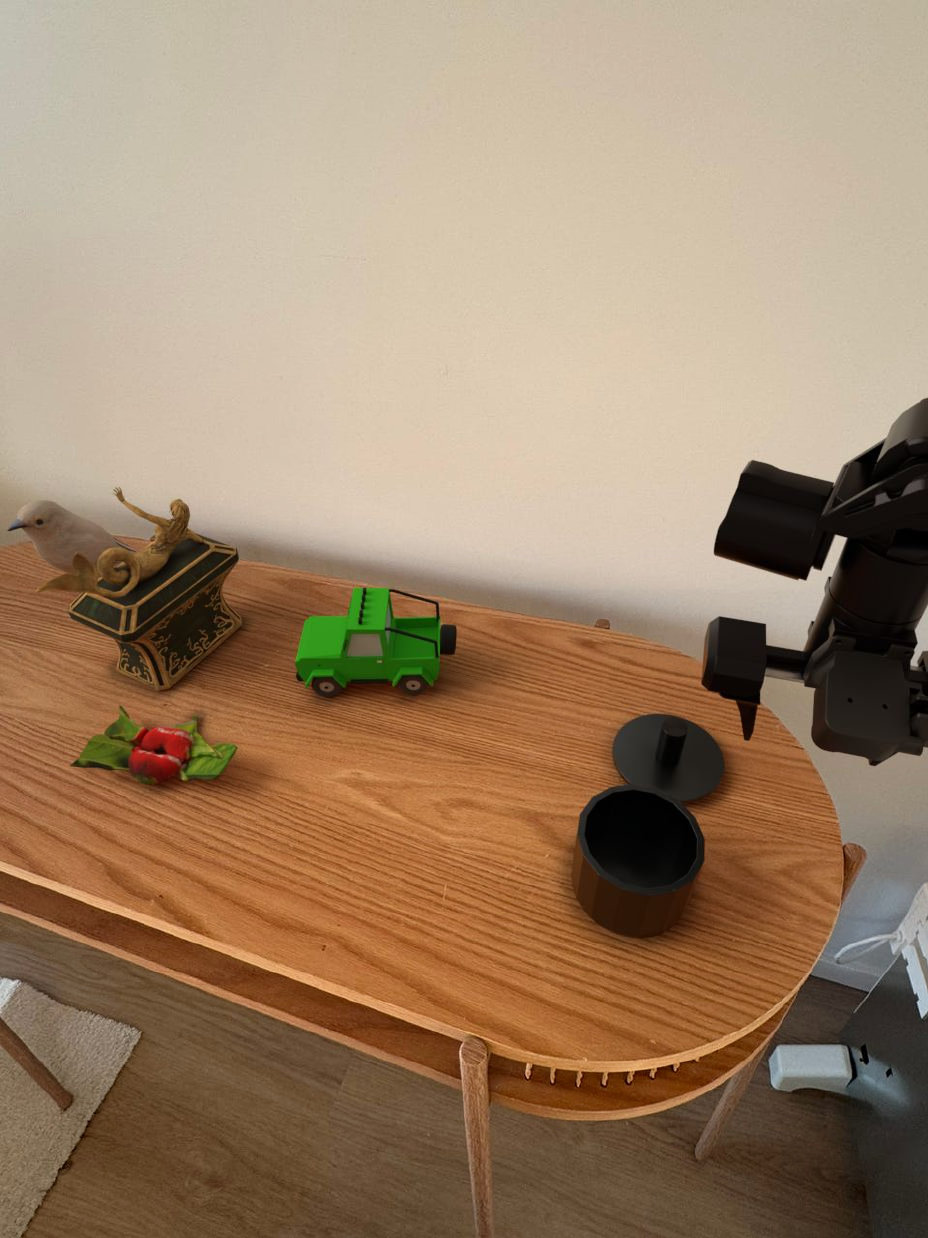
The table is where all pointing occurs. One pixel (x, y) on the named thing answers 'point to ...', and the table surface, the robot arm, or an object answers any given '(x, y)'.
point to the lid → (668, 756)
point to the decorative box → (156, 598)
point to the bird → (64, 535)
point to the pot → (636, 860)
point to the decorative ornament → (131, 740)
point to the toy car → (373, 646)
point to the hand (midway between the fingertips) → (807, 748)
